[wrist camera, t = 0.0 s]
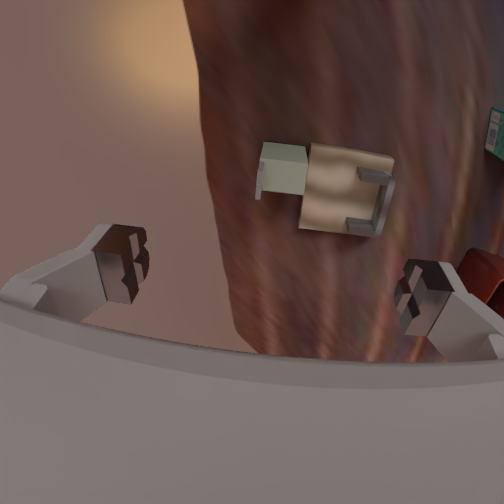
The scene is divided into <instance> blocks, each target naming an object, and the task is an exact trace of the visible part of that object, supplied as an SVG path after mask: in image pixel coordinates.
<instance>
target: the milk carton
mask: <svg viewBox="0 0 504 504" xmlns="http://www.w3.org/2000/svg"><path fill="white" fill-rule="evenodd" d="M484 149H485V150H486V151H488V152H489V153H491V154H492V155H494V156H495V157H497V158H498V159H500V160H501V161H503V162H504V111H501V110H499V109H496V108H493V107H492V110H491V116H490V122H489V128H488V133H487V138H486V143H485V148H484Z"/></svg>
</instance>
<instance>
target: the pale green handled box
mask: <svg viewBox="0 0 504 504" xmlns="http://www.w3.org/2000/svg"><path fill="white" fill-rule="evenodd" d="M307 171H308V159H307V154H306V149H305V147H304V146H301V145H288V144H280V143H274V142H264V143H263V147H262V151H261V155H260V162H259V168H258V172H257V183H256V195H255V199H257V200H260V198H261V191H262V190H263V191H272V192H281V193H290V194H298V195H304V190H305V184H306V177H307Z"/></svg>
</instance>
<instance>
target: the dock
mask: <svg viewBox="0 0 504 504" xmlns="http://www.w3.org/2000/svg"><path fill="white" fill-rule="evenodd" d="M393 164H394V159H393V158H392V157H391V156H388V155H383V154H378V153H373V152H367V151H362V150H356V149H351V148H345V147H338V146H332V145H326V144H319V143H312V142H310V149H309V156H308V171H307V177H306V184H305V190H304V195H303V196H302V202H301V209H300V215H299V221H298V223H299V228H303V229H311V230H320V231H328V232H336V233H343V234H351V235H359V236H366V237H379V238H380V236H381V233H382V229H383V226H384V223H385V219H386V216H387V212H388V209H389V205H390V202H391V198H392V194H393V191H394V187H395V183H396V180H395V179H394V177H393V176H392V175H391V173H392V169H393Z"/></svg>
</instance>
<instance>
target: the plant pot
mask: <svg viewBox="0 0 504 504" xmlns="http://www.w3.org/2000/svg"><path fill="white" fill-rule="evenodd" d="M456 273H457V275H458V276H459V278H460V280H461V282H462V283H463V285H464V287H465V288H466V290H467V292H468V293H469V294H473V295H474V296H475V297H477V298H478V299H479V300H480V301H482V302H483V303H484V304H486V305H487V306H488V307H489V308H491V309H492V310H493V311H494V312H496V313H497V314H498V315H499V316H500V317H502V318H503V319H504V258H502V257H500V256H497V255H494V254H491V253H488V252H485V251H482V250H479V249H475V248H471V249H470V250H469V251H468V253H467V255H466V256H465V258H464V260H463V262H462V263H461V265H460V267H459V269H458V270H457V272H456Z"/></svg>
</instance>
